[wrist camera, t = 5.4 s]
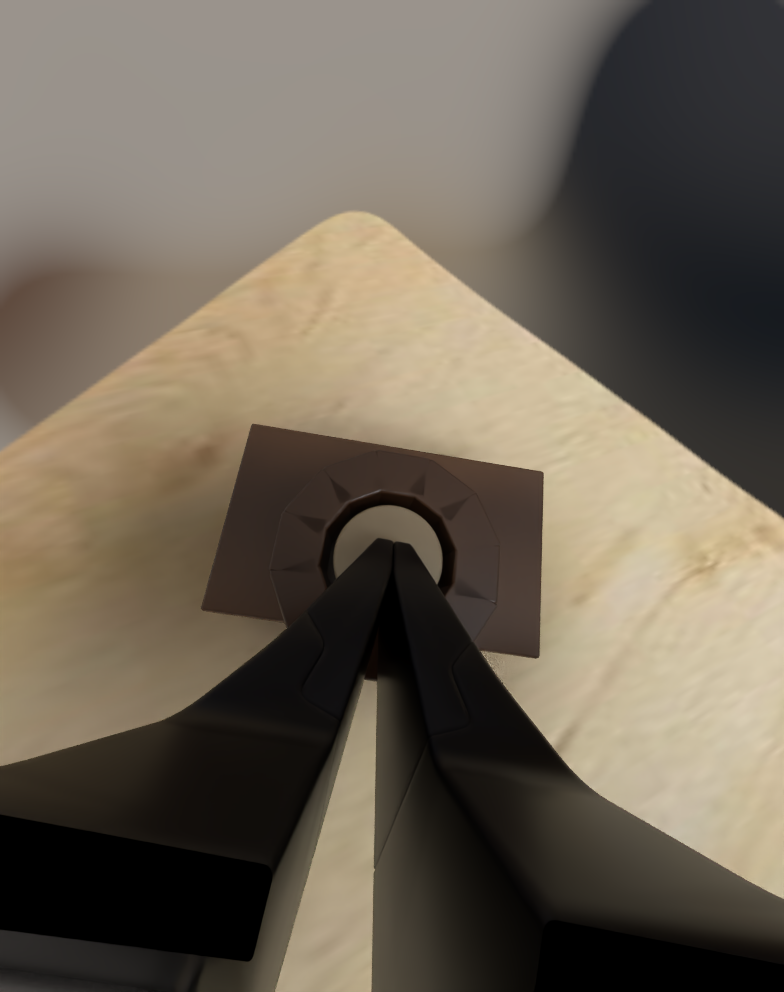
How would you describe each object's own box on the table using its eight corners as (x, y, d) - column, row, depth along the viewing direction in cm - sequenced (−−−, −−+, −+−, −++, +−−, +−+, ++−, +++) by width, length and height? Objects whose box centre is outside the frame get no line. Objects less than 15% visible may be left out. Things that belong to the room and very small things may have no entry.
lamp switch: (424, 621, 11) (437, 623, 9) (328, 606, 11) (323, 607, 9) (434, 527, 12) (448, 513, 10) (345, 513, 12) (343, 496, 10)
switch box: (485, 666, 16) (583, 710, 9) (240, 631, 15) (148, 650, 8) (495, 506, 18) (581, 444, 11) (279, 472, 17) (229, 384, 10)
